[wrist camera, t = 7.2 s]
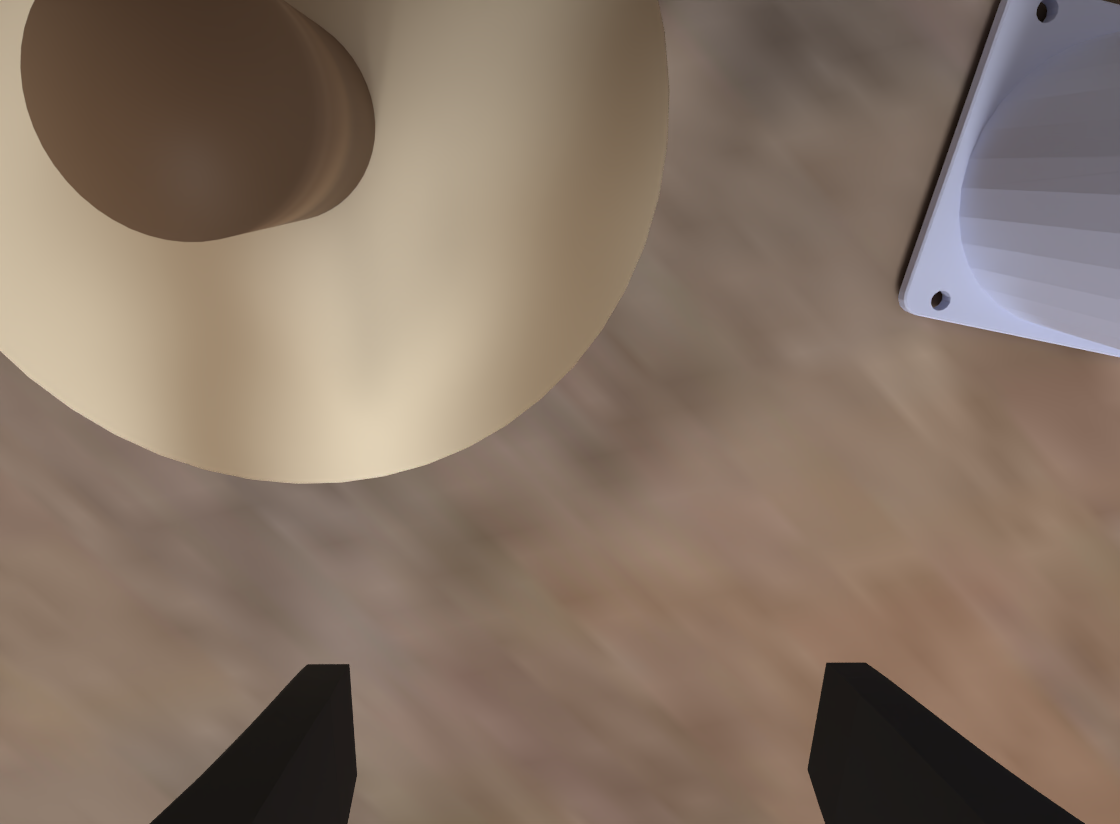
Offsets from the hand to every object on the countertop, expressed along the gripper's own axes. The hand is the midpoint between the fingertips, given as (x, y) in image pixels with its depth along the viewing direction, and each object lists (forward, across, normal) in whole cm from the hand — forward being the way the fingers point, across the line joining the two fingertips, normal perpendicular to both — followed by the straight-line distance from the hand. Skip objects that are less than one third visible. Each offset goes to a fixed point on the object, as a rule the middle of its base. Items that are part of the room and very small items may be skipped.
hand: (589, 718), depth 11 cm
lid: (+6, +6, -8) cm, 12 cm away
